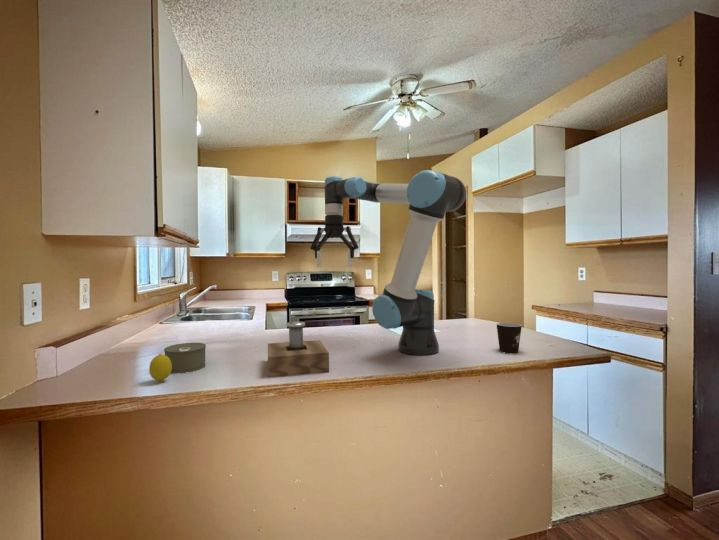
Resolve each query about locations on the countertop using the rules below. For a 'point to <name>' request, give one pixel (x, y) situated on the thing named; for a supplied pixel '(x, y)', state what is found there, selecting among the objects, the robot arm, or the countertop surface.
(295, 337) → the pin
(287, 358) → the block
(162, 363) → the lemon
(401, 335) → the robot arm
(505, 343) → the coffee mug
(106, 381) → the countertop surface
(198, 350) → the can
